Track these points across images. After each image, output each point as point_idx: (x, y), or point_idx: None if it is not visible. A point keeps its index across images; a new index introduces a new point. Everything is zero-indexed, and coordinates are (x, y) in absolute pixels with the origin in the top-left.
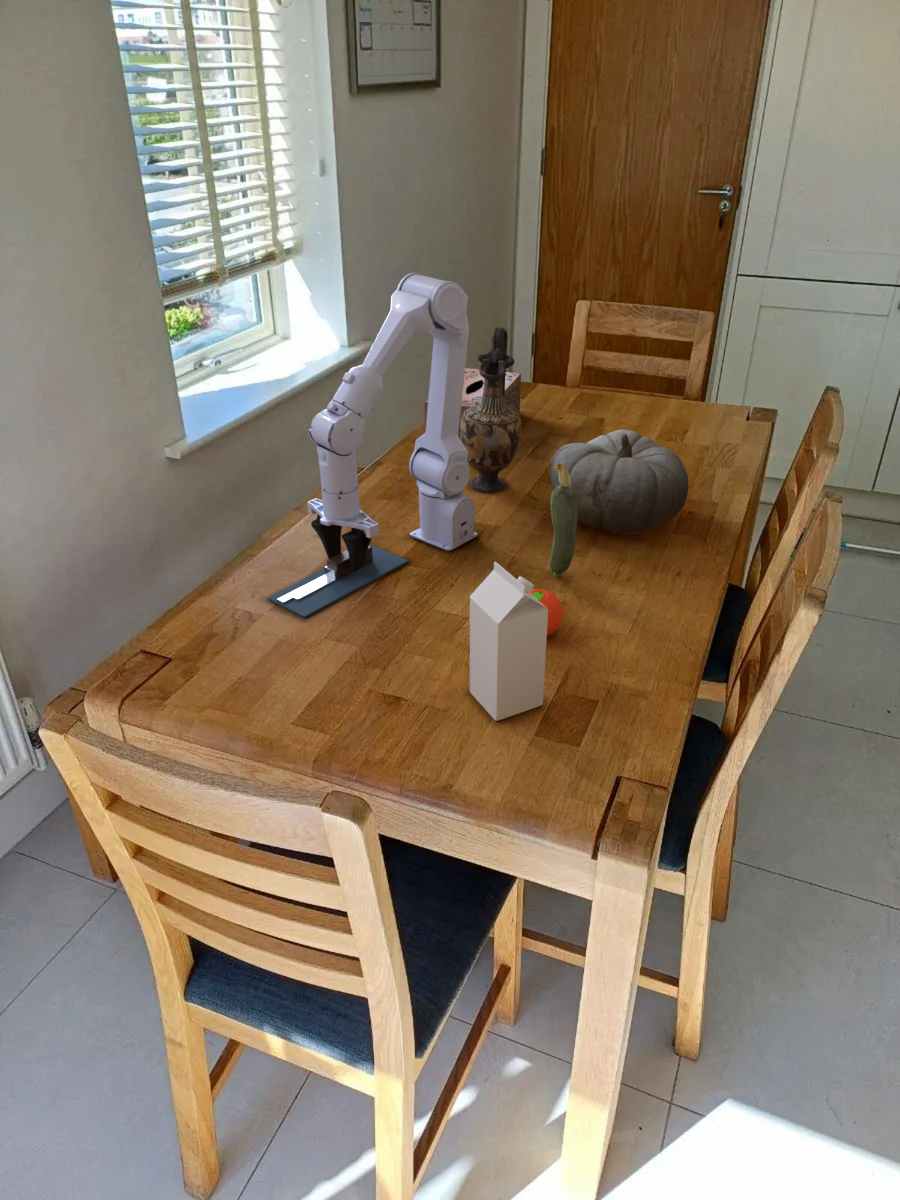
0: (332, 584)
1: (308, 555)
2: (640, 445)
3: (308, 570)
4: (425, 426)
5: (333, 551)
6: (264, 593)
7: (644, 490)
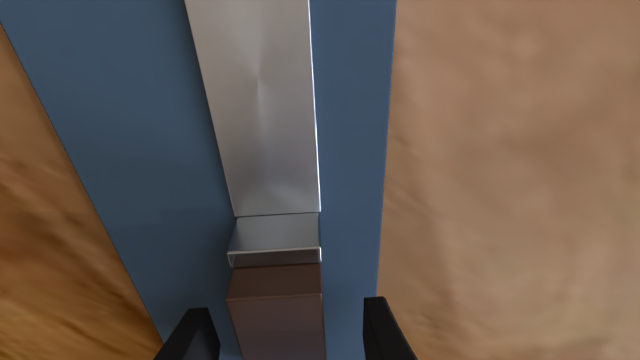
0: (217, 183)
1: (538, 261)
2: None
3: (449, 191)
4: None
5: (371, 353)
6: None
7: None
